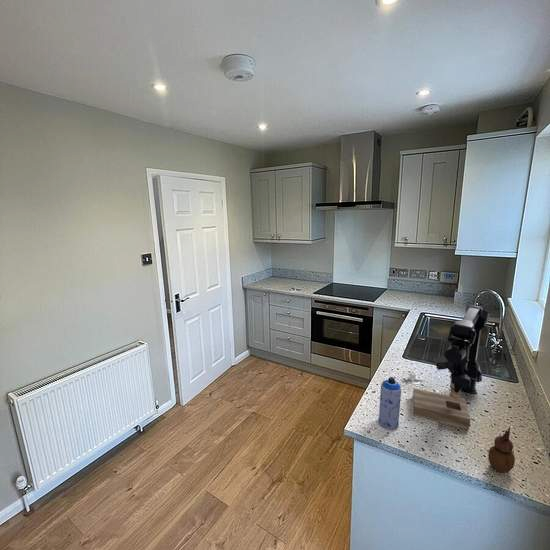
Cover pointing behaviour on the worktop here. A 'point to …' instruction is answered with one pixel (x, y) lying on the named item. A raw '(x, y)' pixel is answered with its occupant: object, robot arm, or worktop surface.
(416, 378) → the teacup and saucer
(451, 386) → the oak peg
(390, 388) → the aerosol can
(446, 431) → the worktop surface
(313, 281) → the worktop surface
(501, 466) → the brown bottle gourd
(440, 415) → the walnut socket block
